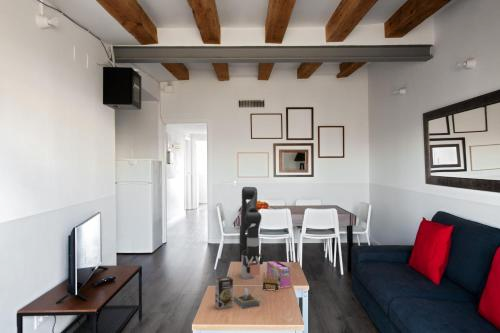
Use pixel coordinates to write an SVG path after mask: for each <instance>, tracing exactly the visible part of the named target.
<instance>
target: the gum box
mask: <svg viewBox="0 0 500 333" xmlns="http://www.w3.org/2000/svg"><path fill="white" fill-rule="evenodd" d="M269 272H270V278H271V273H272V274H273V278H274V273H275V278H276V273H277V274H278V286H280V287H285V286H290V287H291V268H290V267H289V266H287V265H285V264H283V263H281V262H279V261H277V260H276V259H275V260H273V261H266V273H268V277H269Z"/></svg>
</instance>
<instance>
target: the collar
mask: <svg viewBox="0 0 500 333" xmlns="http://www.w3.org/2000/svg"><path fill="white" fill-rule="evenodd" d="M249 267H250V273H247V274H249V275H250V276H253V277H254V276H260V275H261V274H260V273H261V270H260V269H261V265H259V264H257V263H256V262H253V263H251V264H250V266H249Z"/></svg>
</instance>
